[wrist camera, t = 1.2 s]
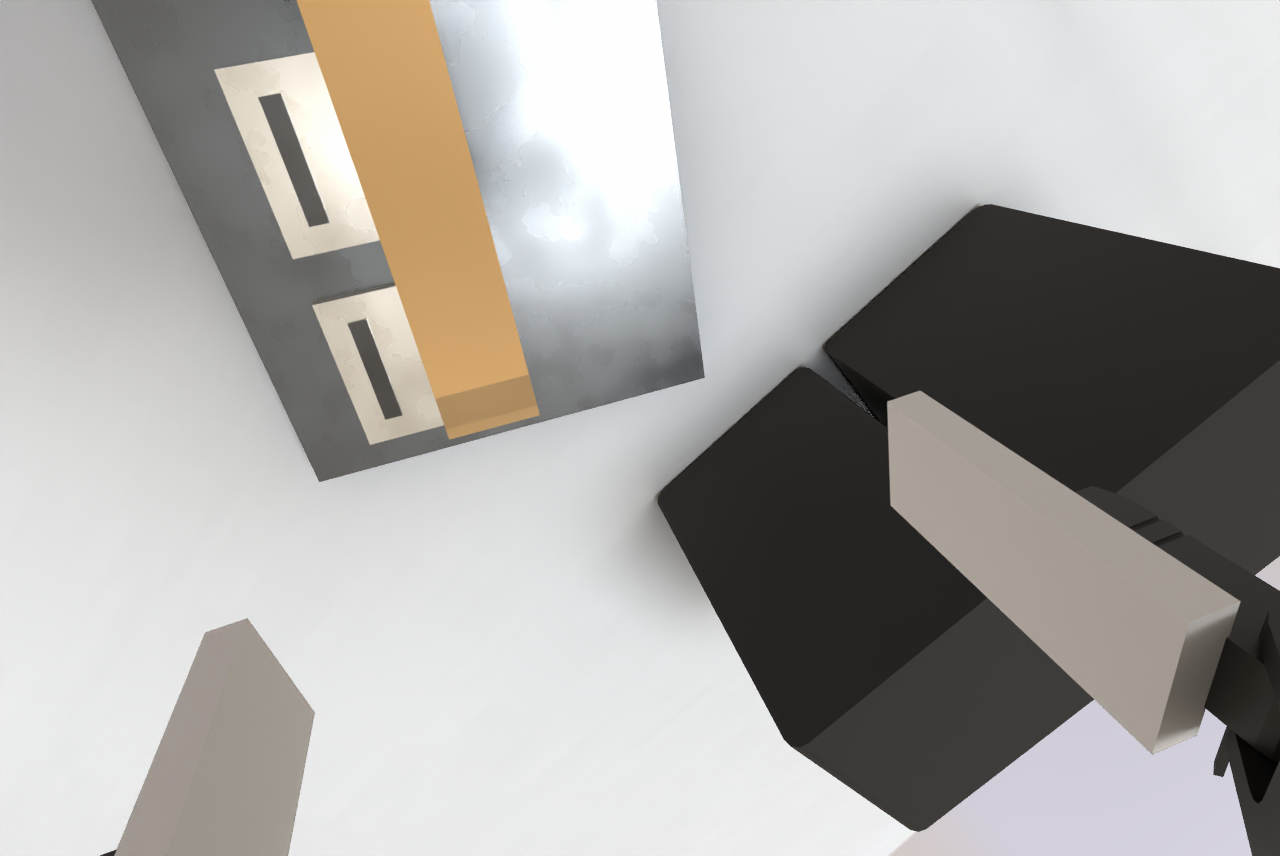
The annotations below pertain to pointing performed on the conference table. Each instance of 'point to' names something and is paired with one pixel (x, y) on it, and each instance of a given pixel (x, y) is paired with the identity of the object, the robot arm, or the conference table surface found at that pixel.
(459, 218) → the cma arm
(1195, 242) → the conference table surface
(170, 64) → the server board
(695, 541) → the speaker
